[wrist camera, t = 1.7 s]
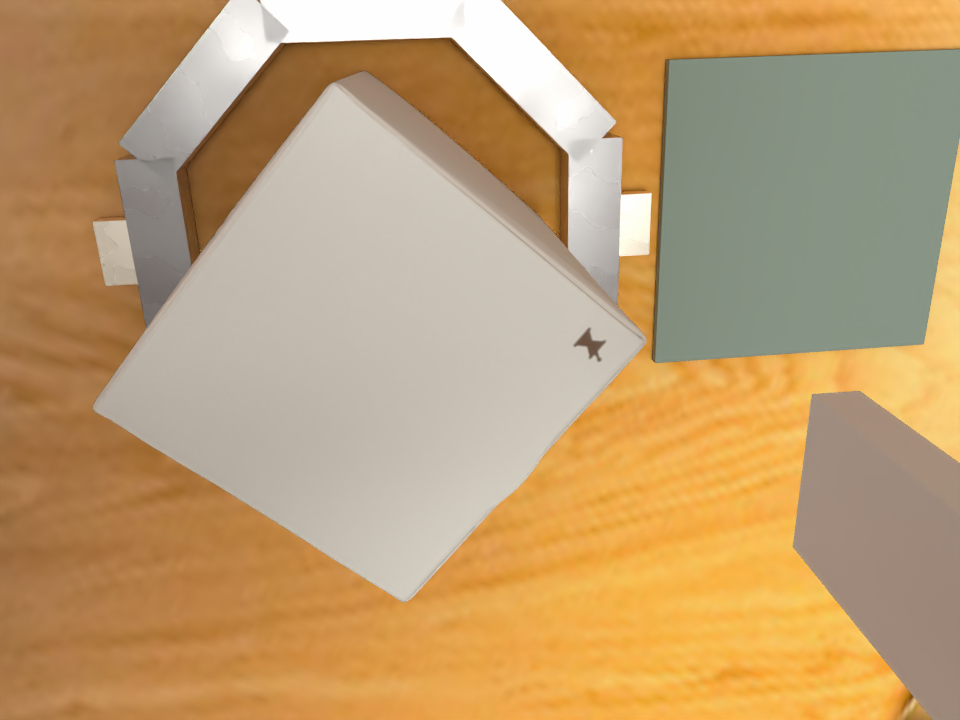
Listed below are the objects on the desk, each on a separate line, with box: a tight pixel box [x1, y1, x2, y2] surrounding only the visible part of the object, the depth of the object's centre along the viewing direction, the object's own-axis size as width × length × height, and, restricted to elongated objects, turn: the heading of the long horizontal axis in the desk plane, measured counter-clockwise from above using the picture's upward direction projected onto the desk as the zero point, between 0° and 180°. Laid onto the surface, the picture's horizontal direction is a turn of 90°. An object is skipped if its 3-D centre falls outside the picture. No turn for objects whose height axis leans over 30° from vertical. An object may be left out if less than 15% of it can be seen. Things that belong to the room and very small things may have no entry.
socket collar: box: [93, 0, 651, 328], centre depth 30 cm, size 21×18×2 cm
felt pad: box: [652, 49, 960, 363], centre depth 32 cm, size 12×12×1 cm
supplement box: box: [93, 71, 646, 602], centre depth 24 cm, size 9×9×15 cm
